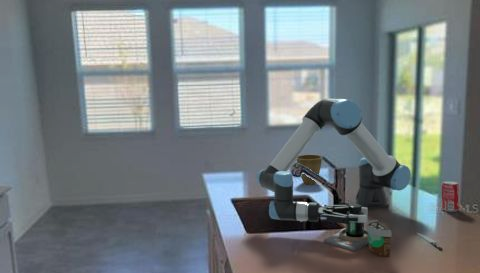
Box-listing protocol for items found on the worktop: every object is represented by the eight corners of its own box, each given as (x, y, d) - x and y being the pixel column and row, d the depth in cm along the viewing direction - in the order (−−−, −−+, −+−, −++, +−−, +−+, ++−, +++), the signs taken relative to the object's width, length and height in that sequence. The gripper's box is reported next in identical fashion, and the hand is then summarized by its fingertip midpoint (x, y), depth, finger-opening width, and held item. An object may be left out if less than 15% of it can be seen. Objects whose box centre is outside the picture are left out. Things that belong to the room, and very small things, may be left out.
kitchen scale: (324, 241, 161) (324, 236, 161) (349, 229, 172) (349, 224, 172) (354, 251, 152) (354, 245, 151) (378, 237, 163) (378, 232, 163)
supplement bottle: (354, 239, 159) (354, 209, 157) (342, 234, 165) (342, 204, 163) (367, 236, 162) (368, 206, 160) (355, 231, 168) (355, 202, 166)
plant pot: (297, 180, 259) (296, 154, 257) (321, 180, 257) (321, 154, 255) (296, 186, 245) (296, 159, 242) (323, 186, 242) (322, 159, 240)
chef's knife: (421, 232, 168) (414, 232, 168) (421, 229, 168) (414, 229, 168) (448, 251, 149) (440, 251, 149) (448, 248, 149) (440, 248, 149)
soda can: (460, 212, 188) (461, 184, 187) (443, 212, 190) (444, 184, 188) (456, 207, 195) (457, 180, 193) (439, 207, 197) (440, 180, 195)
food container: (360, 246, 156) (360, 220, 154) (376, 245, 156) (377, 219, 155) (373, 260, 143) (374, 232, 142) (391, 258, 144) (391, 230, 143)
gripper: (311, 212, 178) (367, 215, 172) (304, 230, 158) (367, 234, 151) (311, 195, 177) (367, 197, 171) (304, 210, 157) (367, 214, 150)
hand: (367, 215), depth 161 cm, fingers open, 9 cm apart
